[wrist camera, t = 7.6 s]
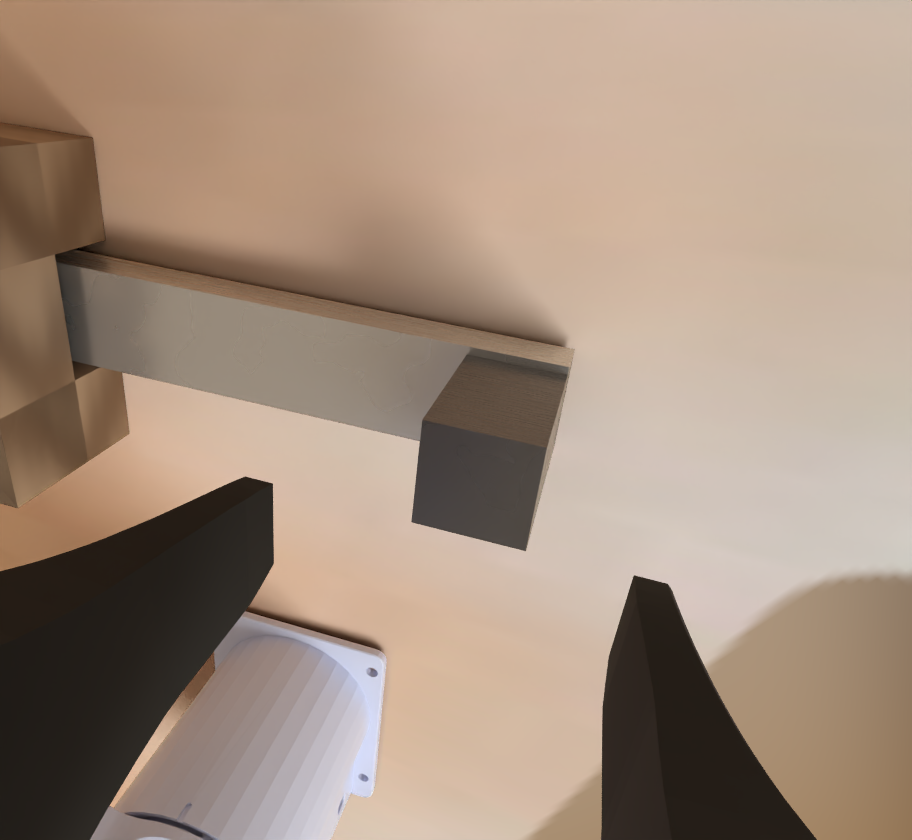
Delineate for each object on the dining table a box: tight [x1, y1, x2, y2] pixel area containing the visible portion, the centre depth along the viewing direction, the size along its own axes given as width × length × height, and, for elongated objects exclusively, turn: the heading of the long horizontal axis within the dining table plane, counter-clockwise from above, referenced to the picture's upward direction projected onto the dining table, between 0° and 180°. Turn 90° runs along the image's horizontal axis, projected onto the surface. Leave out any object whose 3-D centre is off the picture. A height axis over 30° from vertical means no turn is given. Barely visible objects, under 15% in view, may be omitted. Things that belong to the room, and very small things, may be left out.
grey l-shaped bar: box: [55, 249, 575, 551], centre depth 21 cm, size 4×24×6 cm, turn 83°
